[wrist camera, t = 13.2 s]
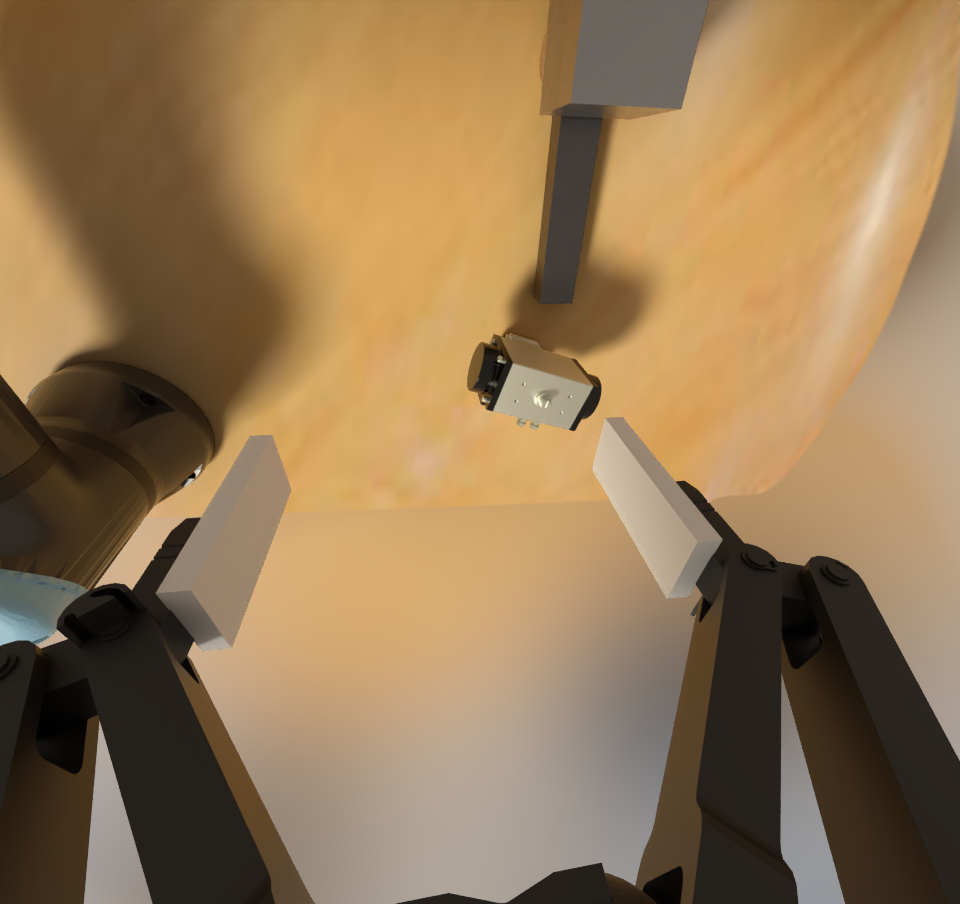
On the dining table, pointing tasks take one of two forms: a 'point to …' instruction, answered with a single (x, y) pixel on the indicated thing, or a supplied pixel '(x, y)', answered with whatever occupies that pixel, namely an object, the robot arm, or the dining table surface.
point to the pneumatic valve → (532, 383)
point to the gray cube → (619, 56)
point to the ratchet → (564, 203)
